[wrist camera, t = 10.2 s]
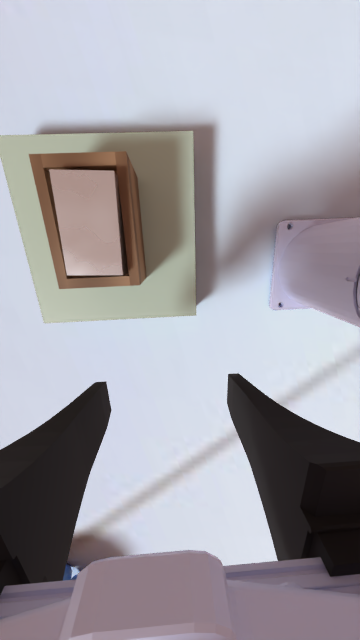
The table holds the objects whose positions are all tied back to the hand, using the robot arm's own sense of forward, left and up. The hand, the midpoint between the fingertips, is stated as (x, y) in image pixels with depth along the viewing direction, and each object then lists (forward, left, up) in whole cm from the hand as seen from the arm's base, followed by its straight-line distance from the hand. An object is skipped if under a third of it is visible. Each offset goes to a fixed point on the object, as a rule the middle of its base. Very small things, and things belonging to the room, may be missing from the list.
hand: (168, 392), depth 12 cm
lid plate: (+4, -9, -4) cm, 11 cm away
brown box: (+4, -9, -7) cm, 12 cm away
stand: (+4, -9, -9) cm, 14 cm away
